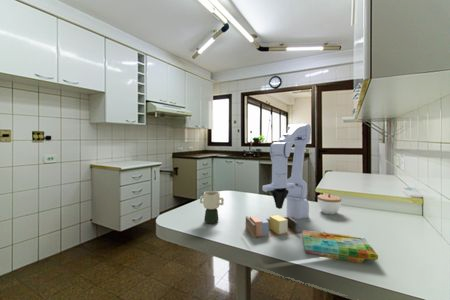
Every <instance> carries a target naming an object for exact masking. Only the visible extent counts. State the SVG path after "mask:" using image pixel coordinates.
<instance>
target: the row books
mask: <svg viewBox="0 0 450 300" xmlns="http://www.w3.org/2000/svg"><path fill="white" fill-rule="evenodd" d="M249 218H250V219H251V220H252V221H253V222H254V223H255V224H256V237H258V236H268V235H269V222H268V221H267V220H266V219H267V218H265V217H264V216H258V215H252V216H249Z"/></svg>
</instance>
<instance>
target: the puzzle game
mask: <svg viewBox="0 0 450 300" xmlns="http://www.w3.org/2000/svg"><path fill="white" fill-rule="evenodd" d="M301 230H302V233H301V237H302V243H303V249H304V252H305V253H306V254H311V255H316V256H321V258H326V259H327V258H328V259H334V260H339V261H340V260H341V261H346V262H347V261H348V262H353V263H360V264H361V263H364V260H372V261H376V260H379V255H378V253H376V251H375V250H374V249H373V247H372V245H371V244H370V243H369V241H368V240H367V239H366V237H361V236H352V235H344V234H340V233H339V234H338V233H331V232H330V233H329V232H326V231H315V230H306V229H301Z"/></svg>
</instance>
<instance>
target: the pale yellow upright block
mask: <svg viewBox="0 0 450 300" xmlns="http://www.w3.org/2000/svg"><path fill="white" fill-rule="evenodd" d="M283 217H284V216H281V215H279V214H273V215H269V218H270V219H269V218H268V219H269V229H271V230H273V231H274V232H276V233H277V234H283V233H287V225H288V220H287V219H285V218H283Z"/></svg>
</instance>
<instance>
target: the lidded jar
mask: <svg viewBox="0 0 450 300" xmlns="http://www.w3.org/2000/svg"><path fill="white" fill-rule="evenodd" d="M341 204H342V198H341V197H340V196H336V195H332V194H331V193H327V194H318V195H317V205H318V207H319V209H320V211H321V212H322V213H323V214H326V215H335V214H336V213H337V212H339V211H340V208H341Z"/></svg>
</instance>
